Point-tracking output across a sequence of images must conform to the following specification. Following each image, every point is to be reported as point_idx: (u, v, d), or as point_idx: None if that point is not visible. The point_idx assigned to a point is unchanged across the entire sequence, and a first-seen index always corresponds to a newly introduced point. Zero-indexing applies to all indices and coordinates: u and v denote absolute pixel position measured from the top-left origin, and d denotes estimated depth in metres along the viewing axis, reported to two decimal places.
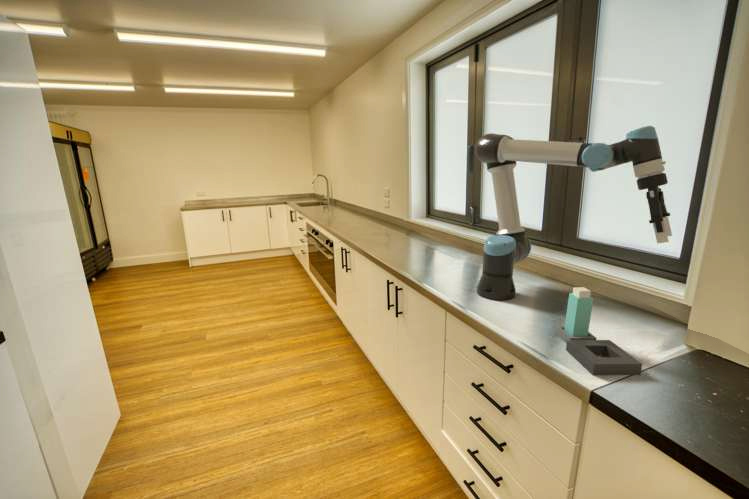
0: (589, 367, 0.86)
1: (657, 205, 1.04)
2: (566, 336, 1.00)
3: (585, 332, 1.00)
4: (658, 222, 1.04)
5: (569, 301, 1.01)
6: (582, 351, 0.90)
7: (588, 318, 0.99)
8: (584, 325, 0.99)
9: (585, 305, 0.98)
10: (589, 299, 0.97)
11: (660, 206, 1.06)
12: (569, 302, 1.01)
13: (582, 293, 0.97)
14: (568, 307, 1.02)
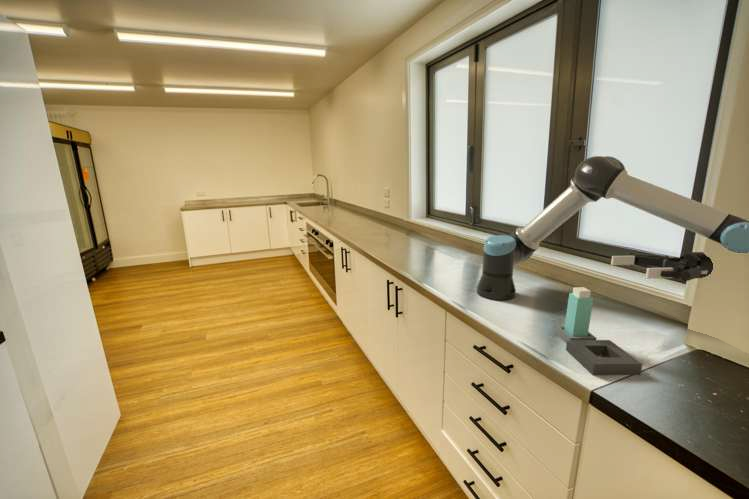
0: (589, 367, 0.86)
1: (695, 277, 0.90)
2: (566, 336, 1.00)
3: (585, 332, 1.00)
4: (676, 275, 0.90)
5: (569, 301, 1.01)
6: (582, 351, 0.90)
7: (588, 318, 0.99)
8: (584, 325, 0.99)
9: (585, 305, 0.98)
10: (589, 299, 0.97)
11: None
12: (569, 302, 1.01)
13: (582, 293, 0.97)
14: (568, 307, 1.02)
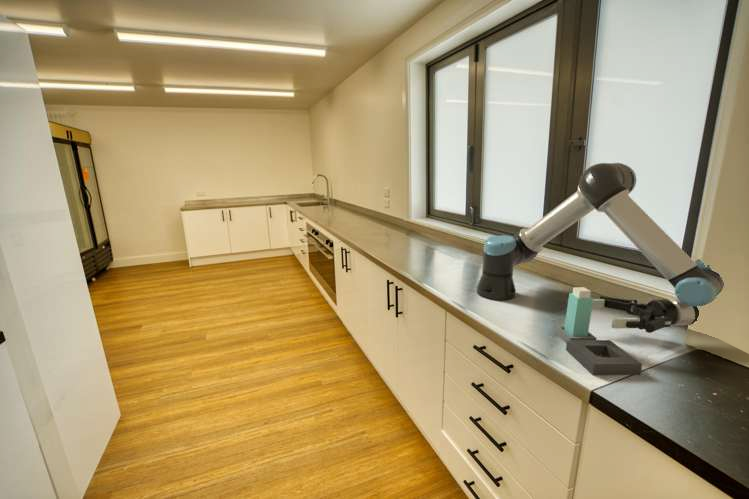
0: (589, 367, 0.86)
1: (659, 328, 0.92)
2: (566, 336, 1.00)
3: (585, 332, 1.00)
4: (641, 326, 0.92)
5: (569, 301, 1.01)
6: (582, 351, 0.90)
7: (588, 318, 0.99)
8: (584, 325, 0.99)
9: (585, 305, 0.98)
10: (589, 299, 0.97)
11: None
12: (569, 302, 1.01)
13: (582, 293, 0.97)
14: (568, 307, 1.02)
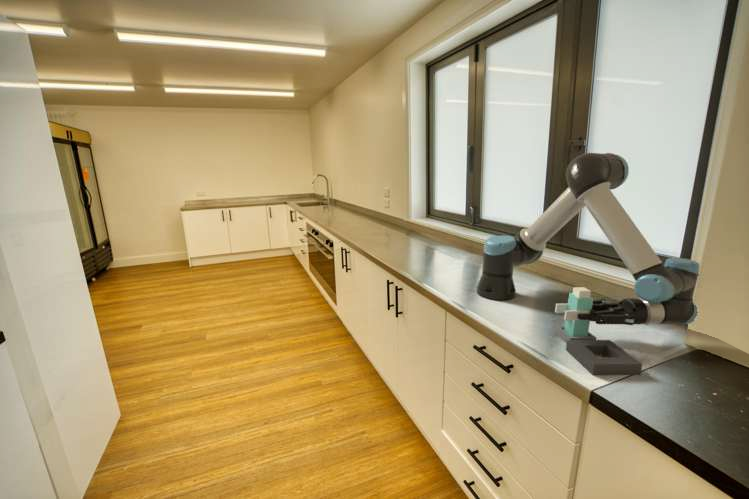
0: (589, 367, 0.86)
1: (613, 323, 0.95)
2: (566, 336, 1.00)
3: (585, 332, 1.00)
4: (591, 318, 0.96)
5: (569, 301, 1.01)
6: (582, 351, 0.90)
7: None
8: (584, 325, 0.99)
9: (585, 305, 0.98)
10: (589, 299, 0.97)
11: None
12: (569, 302, 1.01)
13: (582, 293, 0.97)
14: (568, 307, 1.02)
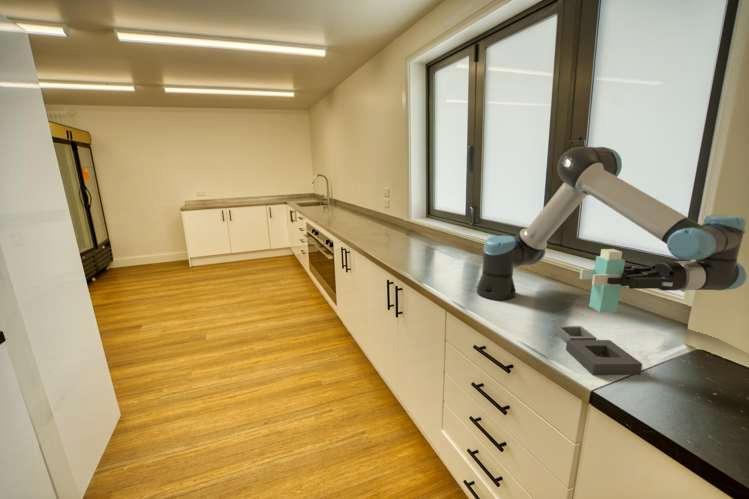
0: (589, 367, 0.86)
1: (649, 287, 0.83)
2: (566, 336, 1.00)
3: (615, 299, 0.88)
4: (623, 282, 0.85)
5: (596, 265, 0.90)
6: (582, 351, 0.90)
7: None
8: (614, 291, 0.88)
9: (616, 268, 0.86)
10: (620, 261, 0.86)
11: None
12: (596, 266, 0.90)
13: (612, 254, 0.86)
14: (595, 272, 0.90)
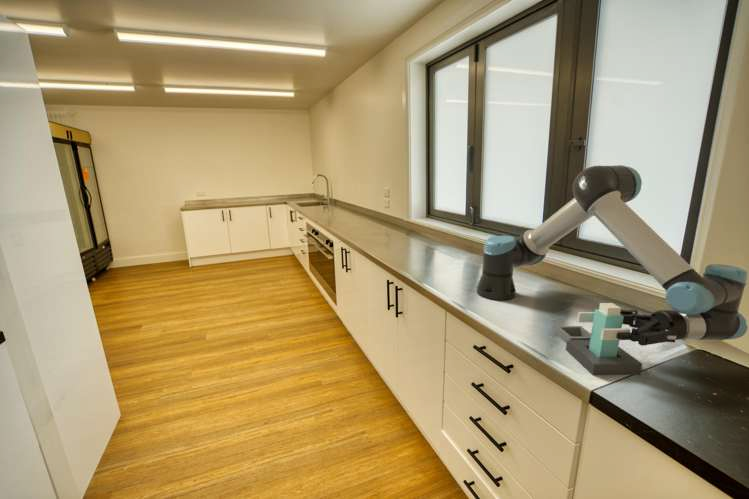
0: (589, 367, 0.86)
1: (657, 341, 0.82)
2: (566, 336, 1.00)
3: (613, 354, 0.88)
4: (633, 338, 0.82)
5: (595, 318, 0.90)
6: (582, 351, 0.90)
7: None
8: (613, 346, 0.87)
9: (614, 324, 0.86)
10: (619, 317, 0.86)
11: None
12: (595, 320, 0.90)
13: (611, 310, 0.86)
14: (594, 325, 0.90)
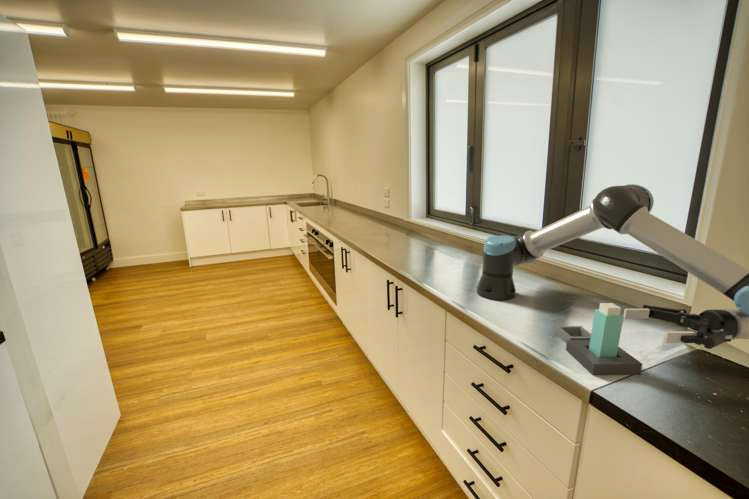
0: (589, 367, 0.86)
1: (719, 343, 0.81)
2: (566, 336, 1.00)
3: (613, 354, 0.88)
4: (698, 341, 0.80)
5: (595, 318, 0.90)
6: (582, 351, 0.90)
7: (617, 338, 0.87)
8: (613, 346, 0.88)
9: (615, 324, 0.86)
10: (619, 317, 0.86)
11: None
12: (595, 319, 0.90)
13: (611, 310, 0.86)
14: (594, 325, 0.90)
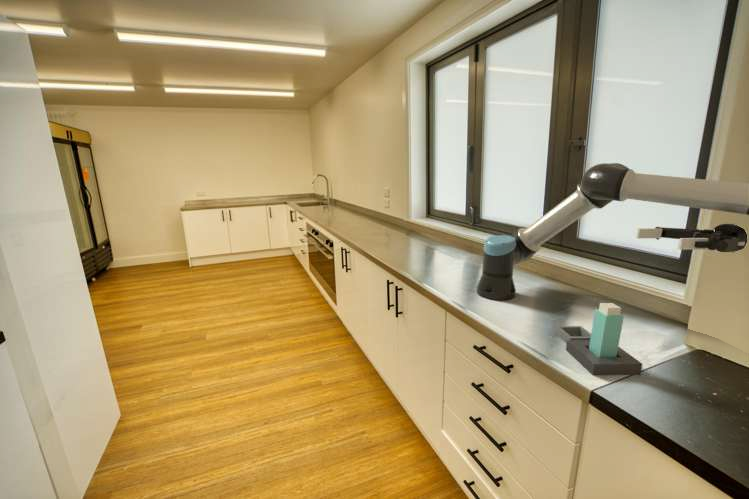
0: (589, 367, 0.86)
1: (732, 248, 0.83)
2: (566, 336, 1.00)
3: (613, 354, 0.88)
4: (712, 246, 0.82)
5: (595, 318, 0.90)
6: (582, 351, 0.90)
7: (617, 338, 0.87)
8: (613, 346, 0.88)
9: (615, 324, 0.86)
10: (619, 317, 0.86)
11: None
12: (595, 319, 0.90)
13: (611, 310, 0.86)
14: (594, 325, 0.90)
